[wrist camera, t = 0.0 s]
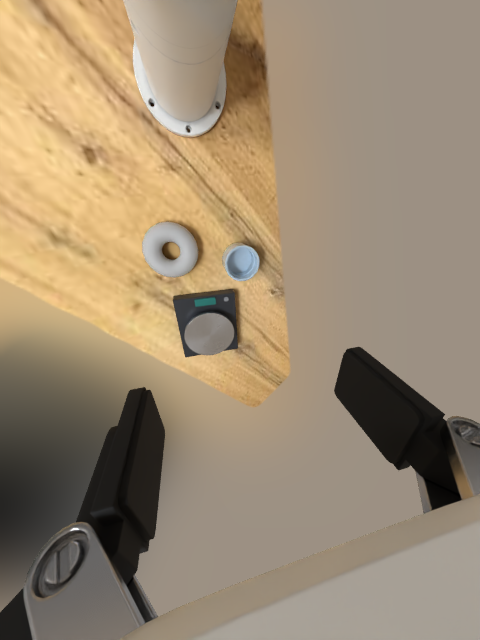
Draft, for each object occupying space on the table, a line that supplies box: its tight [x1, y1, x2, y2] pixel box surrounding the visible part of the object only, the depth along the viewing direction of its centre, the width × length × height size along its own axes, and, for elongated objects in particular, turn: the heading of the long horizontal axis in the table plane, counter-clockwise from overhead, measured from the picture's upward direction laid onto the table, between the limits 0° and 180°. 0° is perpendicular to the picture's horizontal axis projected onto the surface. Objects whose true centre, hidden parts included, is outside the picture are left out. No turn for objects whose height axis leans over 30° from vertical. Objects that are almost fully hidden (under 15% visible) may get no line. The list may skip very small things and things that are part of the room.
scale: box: [173, 289, 238, 357], centre depth 48 cm, size 15×13×3 cm
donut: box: [142, 222, 198, 277], centre depth 38 cm, size 10×4×10 cm
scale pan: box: [184, 312, 234, 355], centre depth 46 cm, size 11×11×1 cm
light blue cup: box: [222, 242, 259, 281], centre depth 42 cm, size 7×7×4 cm
